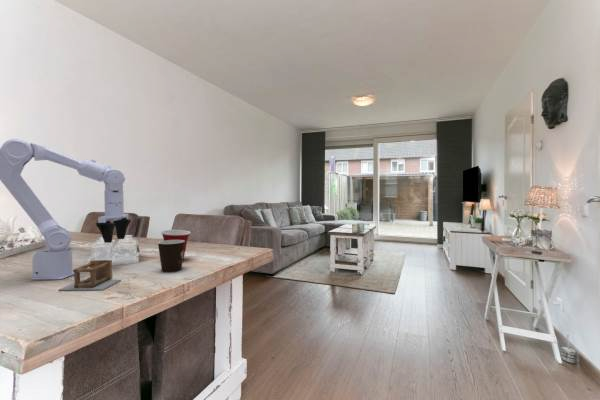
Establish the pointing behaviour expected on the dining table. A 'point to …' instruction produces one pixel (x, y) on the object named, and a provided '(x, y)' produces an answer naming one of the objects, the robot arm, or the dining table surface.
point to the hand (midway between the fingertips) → (114, 240)
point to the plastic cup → (176, 236)
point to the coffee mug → (171, 255)
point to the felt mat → (98, 287)
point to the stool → (94, 273)
